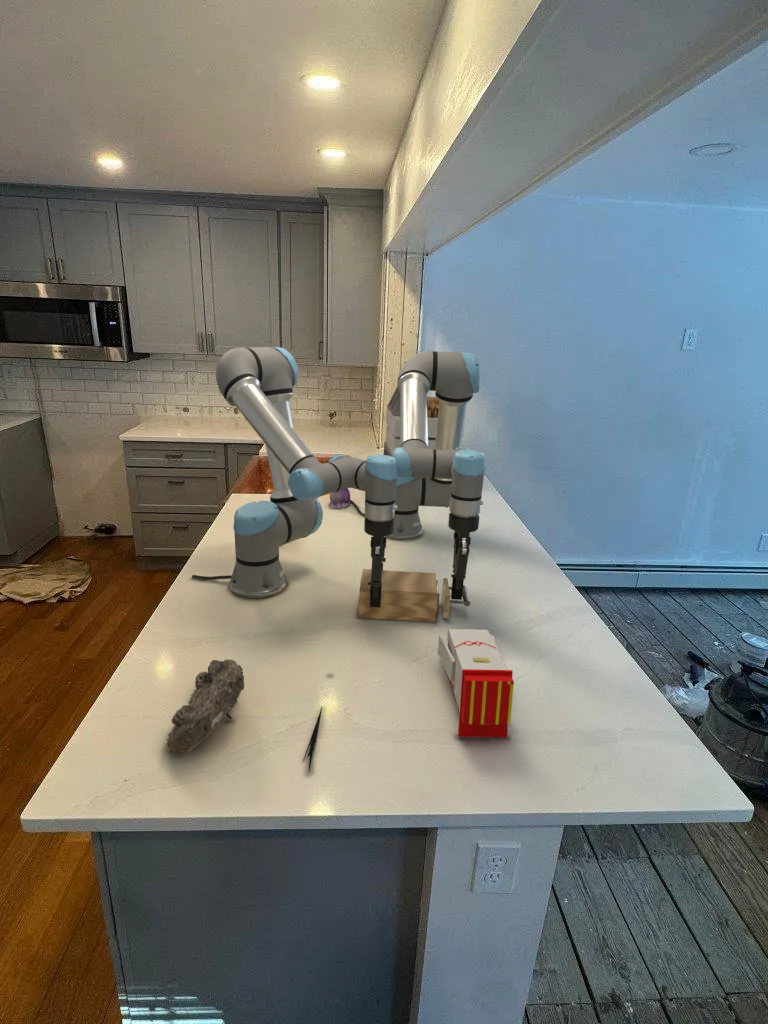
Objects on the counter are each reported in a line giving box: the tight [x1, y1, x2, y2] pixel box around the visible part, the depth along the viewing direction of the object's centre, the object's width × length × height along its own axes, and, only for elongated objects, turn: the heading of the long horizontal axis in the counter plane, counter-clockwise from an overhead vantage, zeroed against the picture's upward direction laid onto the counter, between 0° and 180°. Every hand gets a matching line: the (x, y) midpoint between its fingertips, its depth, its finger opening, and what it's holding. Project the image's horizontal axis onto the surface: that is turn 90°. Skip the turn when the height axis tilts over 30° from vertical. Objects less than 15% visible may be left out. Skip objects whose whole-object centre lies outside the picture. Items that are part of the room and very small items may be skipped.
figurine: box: [329, 488, 351, 509], centre depth 223 cm, size 9×10×15 cm
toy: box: [437, 628, 515, 738], centre depth 117 cm, size 12×13×30 cm
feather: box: [301, 673, 332, 771], centre depth 108 cm, size 2×28×2 cm
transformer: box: [383, 387, 465, 457], centre depth 268 cm, size 34×33×41 cm
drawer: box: [436, 577, 471, 619], centre depth 148 cm, size 24×10×6 cm, turn 88°
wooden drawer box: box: [358, 568, 439, 623], centre depth 149 cm, size 20×11×8 cm, turn 88°
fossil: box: [166, 658, 245, 754], centre depth 106 cm, size 22×10×15 cm
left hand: (376, 595), depth 149 cm, fingers closed on wooden drawer box, 11 cm apart
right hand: (456, 598), depth 148 cm, fingers closed
